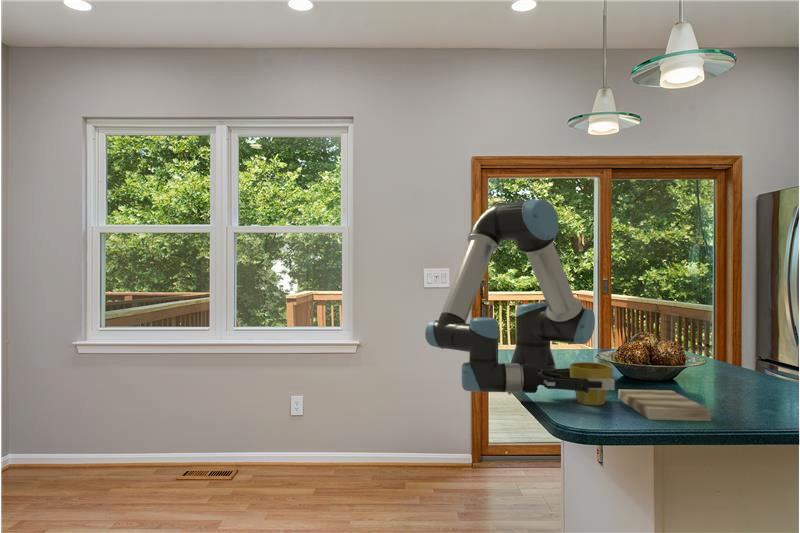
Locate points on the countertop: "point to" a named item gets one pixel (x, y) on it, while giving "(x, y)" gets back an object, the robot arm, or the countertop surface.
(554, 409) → the countertop surface
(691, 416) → the birch stand
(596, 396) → the plant pot
